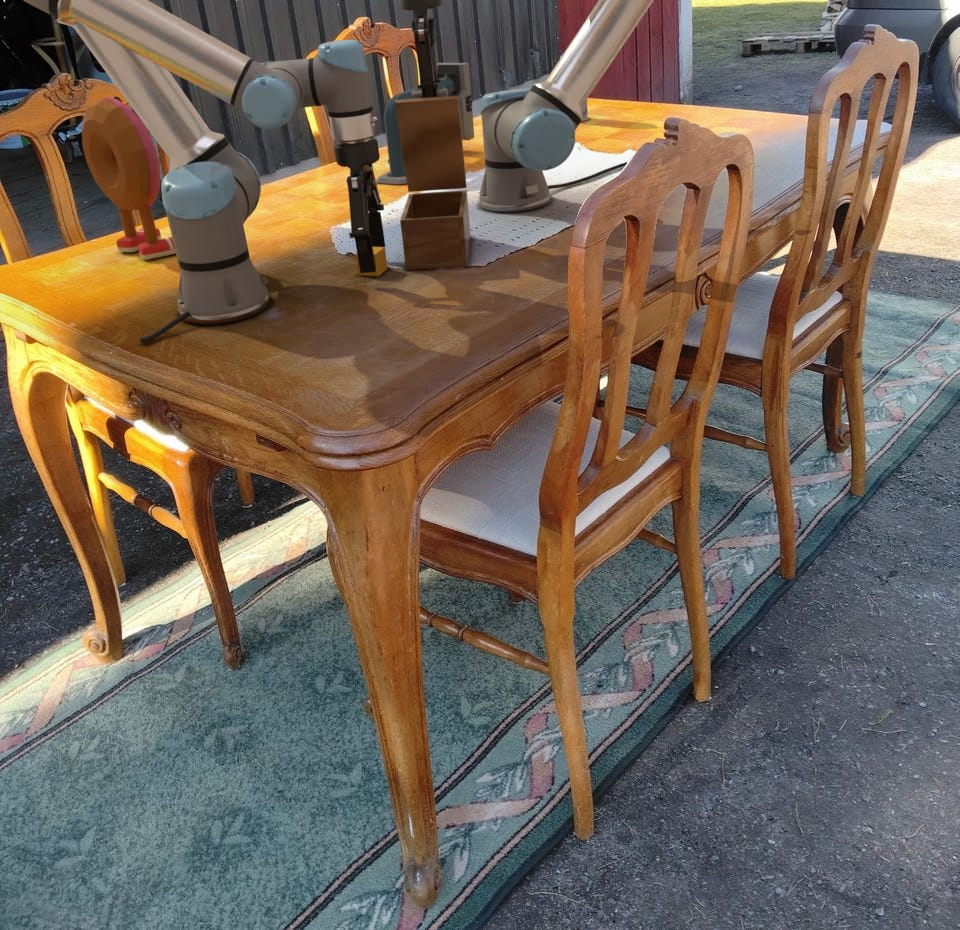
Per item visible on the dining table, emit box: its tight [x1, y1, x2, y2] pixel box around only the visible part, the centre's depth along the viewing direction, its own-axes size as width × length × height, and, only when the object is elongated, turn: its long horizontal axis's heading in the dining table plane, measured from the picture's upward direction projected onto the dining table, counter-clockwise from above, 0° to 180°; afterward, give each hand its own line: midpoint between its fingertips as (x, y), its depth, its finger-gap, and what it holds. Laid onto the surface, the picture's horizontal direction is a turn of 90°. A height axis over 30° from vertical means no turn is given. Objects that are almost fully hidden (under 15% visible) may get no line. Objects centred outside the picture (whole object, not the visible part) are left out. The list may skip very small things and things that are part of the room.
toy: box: [81, 95, 176, 260], centre depth 191 cm, size 21×10×30 cm, turn 47°
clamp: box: [376, 62, 475, 185], centre depth 238 cm, size 35×9×21 cm, turn 151°
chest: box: [399, 189, 471, 271], centre depth 181 cm, size 17×11×9 cm, turn 179°
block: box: [354, 246, 388, 277], centre depth 176 cm, size 4×4×4 cm
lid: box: [395, 89, 468, 193], centre depth 182 cm, size 18×11×9 cm
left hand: (373, 259), depth 176 cm, fingers open, 13 cm apart
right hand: (433, 122), depth 182 cm, fingers closed on lid, 2 cm apart
